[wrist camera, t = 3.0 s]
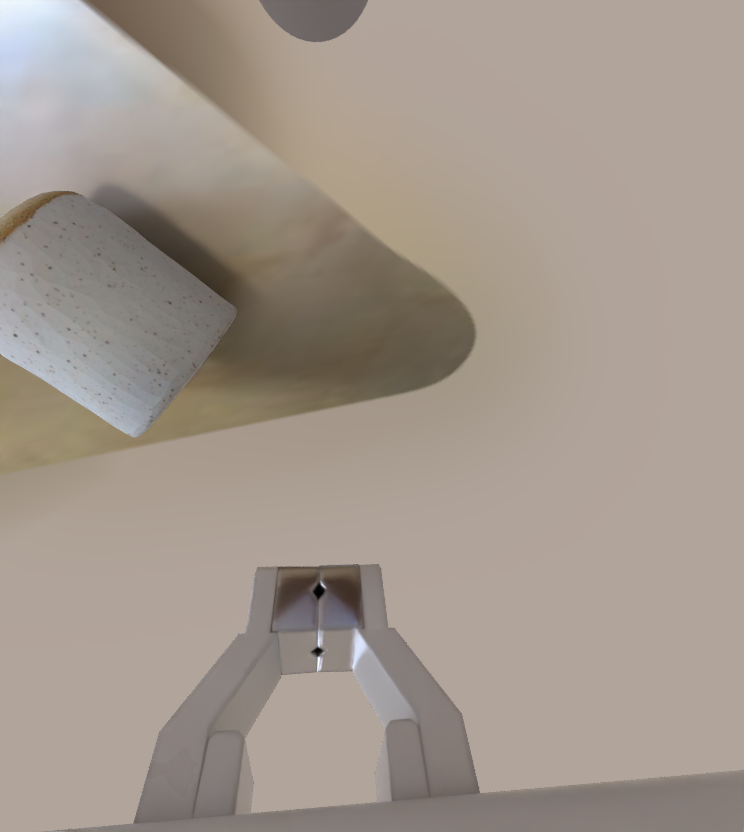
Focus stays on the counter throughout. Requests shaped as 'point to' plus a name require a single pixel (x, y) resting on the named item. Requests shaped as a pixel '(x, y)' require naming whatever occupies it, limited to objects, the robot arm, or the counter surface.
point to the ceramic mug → (102, 309)
